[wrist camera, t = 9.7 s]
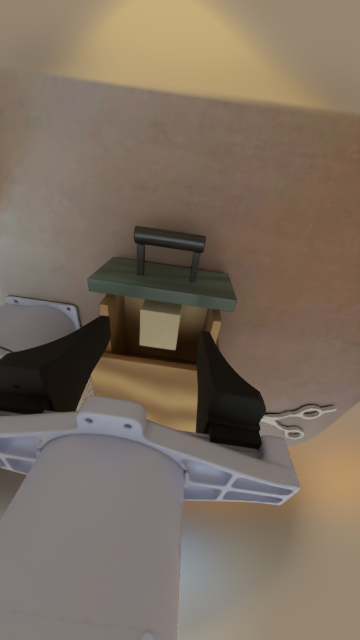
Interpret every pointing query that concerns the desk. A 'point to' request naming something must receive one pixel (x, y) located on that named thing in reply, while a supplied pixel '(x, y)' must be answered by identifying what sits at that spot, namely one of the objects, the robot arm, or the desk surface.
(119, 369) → the cabinet
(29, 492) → the robot arm
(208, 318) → the drawer
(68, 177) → the desk surface
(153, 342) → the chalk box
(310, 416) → the scissors
